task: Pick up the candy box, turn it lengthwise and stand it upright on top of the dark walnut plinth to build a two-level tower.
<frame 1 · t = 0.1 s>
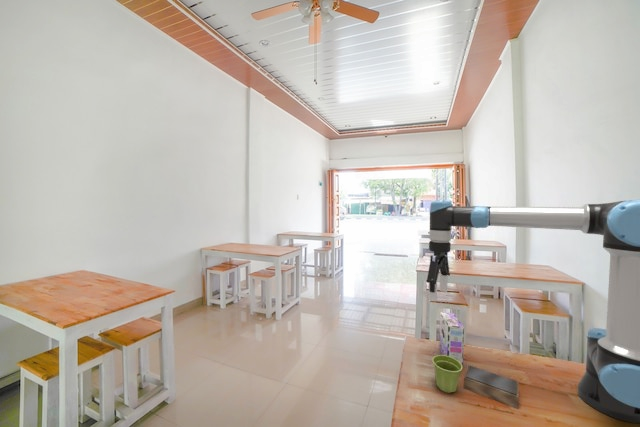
hand: (438, 295, 102), 28 cm above the table, tool pointing down, fingers open, 13 cm apart
candy box: (450, 358, 109), on the table
plinth: (490, 390, 90), on the table
plant pot: (446, 387, 92), on the table
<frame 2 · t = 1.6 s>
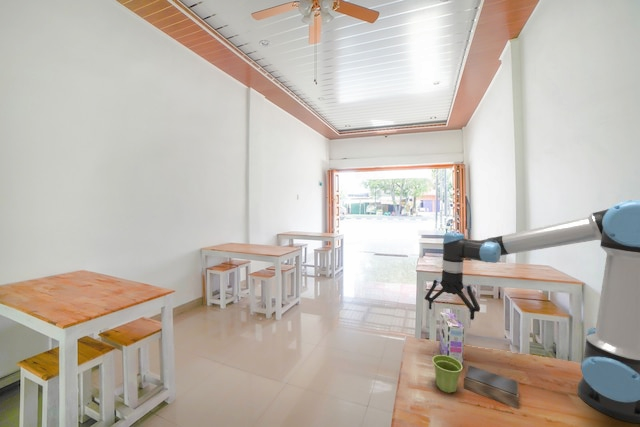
hand: (450, 321, 109), 15 cm above the table, tool pointing down, fingers open, 13 cm apart
nothing on the table moved.
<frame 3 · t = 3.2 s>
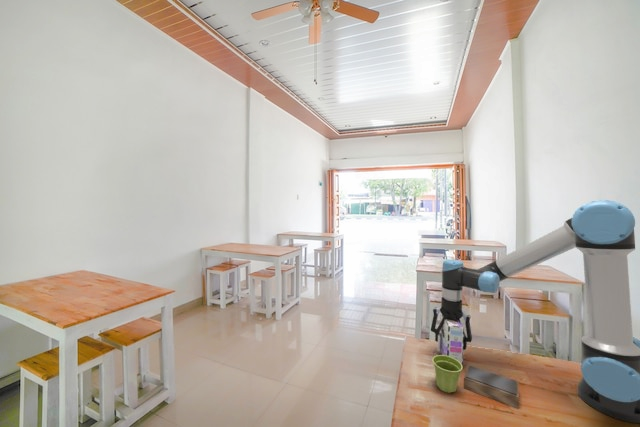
hand: (450, 352, 109), 2 cm above the table, tool pointing down, fingers closed on candy box, 8 cm apart
candy box: (450, 358, 109), on the table, touching gripper
everything else where it was.
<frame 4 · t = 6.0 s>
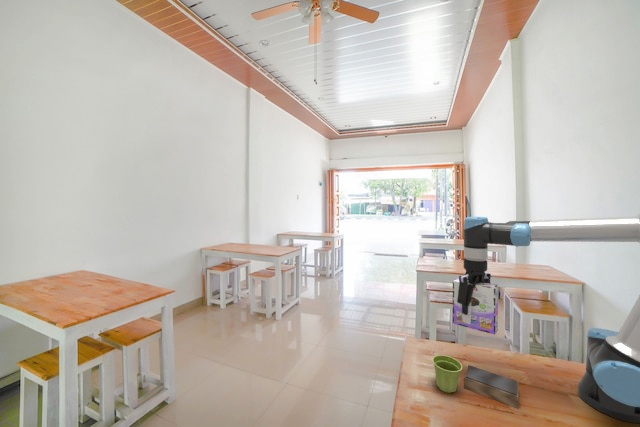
hand: (474, 320, 97), 21 cm above the table, tool pointing down, fingers closed on candy box, 8 cm apart
candy box: (474, 327, 97), point 18 cm above the table, touching gripper
everything else where it was.
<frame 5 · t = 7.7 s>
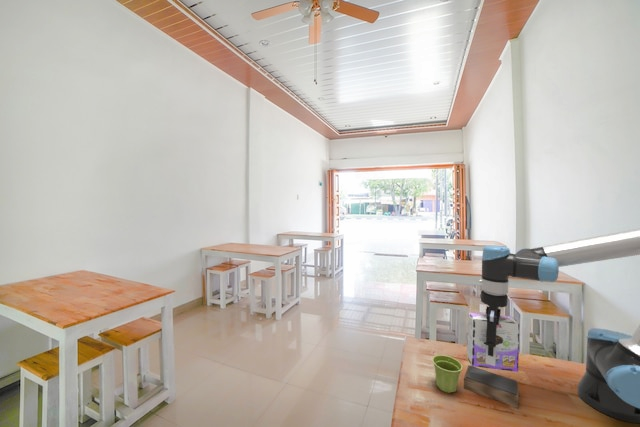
hand: (491, 358, 90), 11 cm above the table, tool pointing down, fingers closed on candy box, 8 cm apart
candy box: (491, 365, 90), point 9 cm above the table, touching gripper
everything else where it was.
when the fingers open (8 cm above the table, at t = 8.9 s): candy box drops 1 cm, resting on plinth.
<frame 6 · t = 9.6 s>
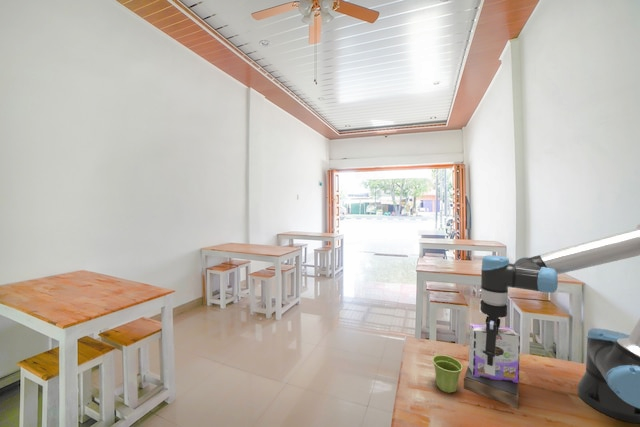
hand: (491, 363, 90), 9 cm above the table, tool pointing down, fingers open, 13 cm apart
candy box: (492, 375, 92), point 4 cm above the table, touching plinth
everything else where it was.
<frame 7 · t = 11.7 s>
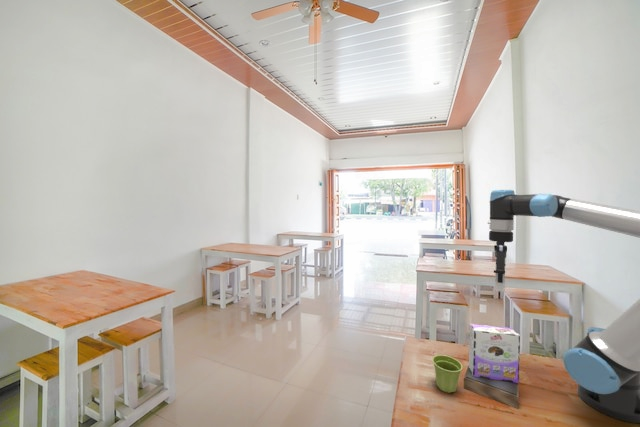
hand: (499, 286, 101), 32 cm above the table, tool pointing down, fingers open, 13 cm apart
nothing on the table moved.
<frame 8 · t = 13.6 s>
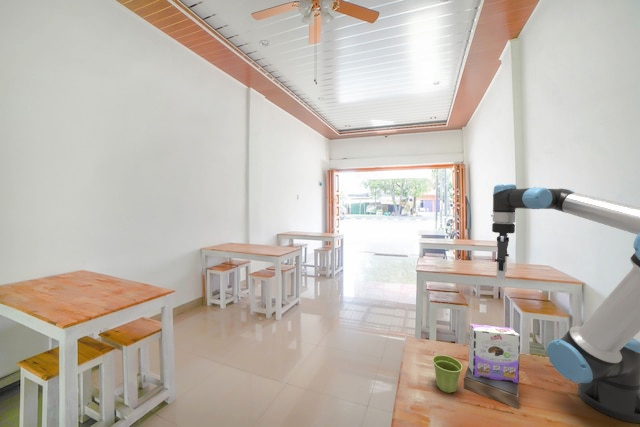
hand: (501, 275, 107), 35 cm above the table, tool pointing down, fingers open, 13 cm apart
nothing on the table moved.
at the end: candy box 2.6 cm off-centre on the plinth, point 3.8 cm above the plinth's base; candy box tilted 0°; the gripper is holding nothing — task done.
